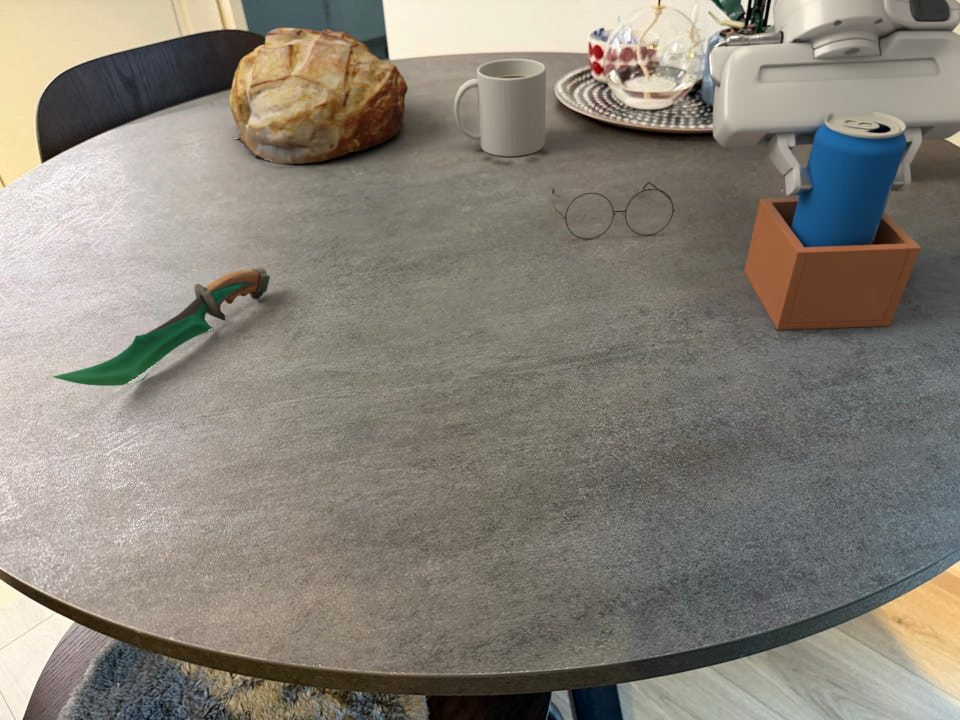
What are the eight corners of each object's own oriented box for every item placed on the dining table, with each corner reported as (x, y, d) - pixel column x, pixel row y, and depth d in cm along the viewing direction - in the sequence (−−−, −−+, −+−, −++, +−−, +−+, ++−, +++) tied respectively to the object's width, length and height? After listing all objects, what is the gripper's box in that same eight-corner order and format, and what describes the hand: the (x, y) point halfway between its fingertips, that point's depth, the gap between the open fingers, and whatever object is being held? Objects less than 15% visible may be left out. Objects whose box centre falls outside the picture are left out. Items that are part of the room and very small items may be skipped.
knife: (264, 289, 69) (251, 244, 66) (278, 293, 68) (265, 248, 65) (71, 421, 55) (43, 371, 52) (85, 428, 54) (58, 379, 51)
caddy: (844, 268, 67) (868, 194, 62) (890, 326, 60) (921, 247, 55) (743, 271, 67) (759, 198, 63) (776, 330, 60) (797, 252, 55)
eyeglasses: (545, 195, 83) (546, 154, 79) (652, 188, 83) (656, 147, 80) (558, 241, 74) (559, 197, 71) (677, 234, 74) (683, 189, 71)
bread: (320, 102, 118) (295, 4, 109) (446, 115, 103) (429, 4, 95) (198, 154, 103) (158, 46, 94) (325, 179, 88) (292, 53, 79)
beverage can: (857, 285, 57) (906, 143, 50) (776, 266, 60) (811, 129, 53) (870, 250, 62) (917, 114, 54) (793, 234, 64) (828, 103, 57)
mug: (556, 138, 96) (558, 62, 90) (522, 163, 90) (521, 84, 84) (489, 126, 101) (486, 53, 95) (452, 149, 95) (447, 73, 89)
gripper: (718, 13, 55) (731, 182, 54) (982, 0, 55) (1003, 171, 53) (696, 57, 61) (707, 209, 60) (933, 46, 61) (950, 199, 59)
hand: (848, 191), depth 56 cm, fingers closed on beverage can, 6 cm apart
